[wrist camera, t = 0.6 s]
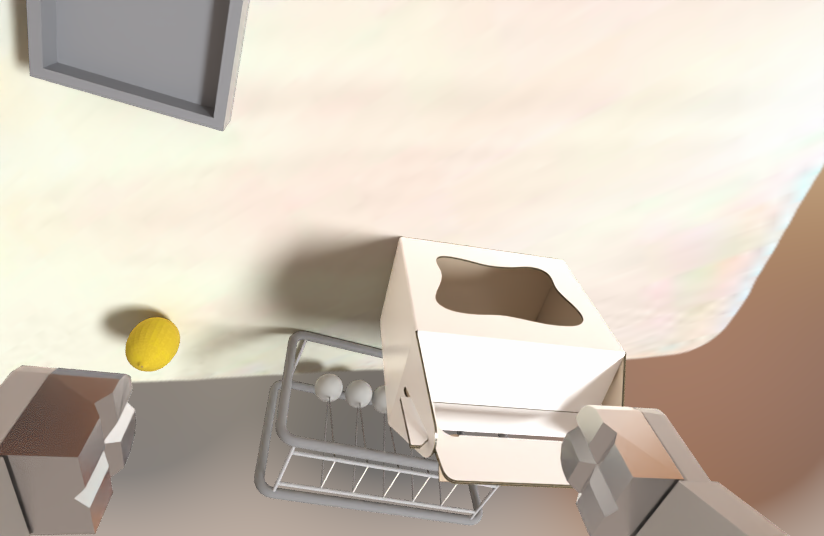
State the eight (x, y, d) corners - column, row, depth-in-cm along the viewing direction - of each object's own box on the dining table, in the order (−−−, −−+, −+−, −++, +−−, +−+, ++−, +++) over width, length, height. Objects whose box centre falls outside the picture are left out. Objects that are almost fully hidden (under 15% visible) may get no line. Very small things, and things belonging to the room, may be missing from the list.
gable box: (377, 320, 66) (392, 526, 43) (397, 235, 59) (428, 425, 36) (530, 336, 70) (620, 530, 47) (566, 259, 64) (690, 441, 40)
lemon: (193, 334, 64) (175, 380, 57) (151, 341, 64) (128, 387, 57) (177, 301, 61) (156, 345, 54) (132, 308, 61) (105, 353, 54)
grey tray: (44, -145, 38) (19, -152, 35) (259, -60, 42) (252, -60, 39) (50, 67, 45) (29, 75, 42) (230, 120, 50) (223, 131, 47)
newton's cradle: (270, 380, 70) (249, 497, 55) (291, 325, 65) (274, 438, 50) (458, 419, 79) (483, 529, 64) (489, 374, 74) (524, 481, 59)
